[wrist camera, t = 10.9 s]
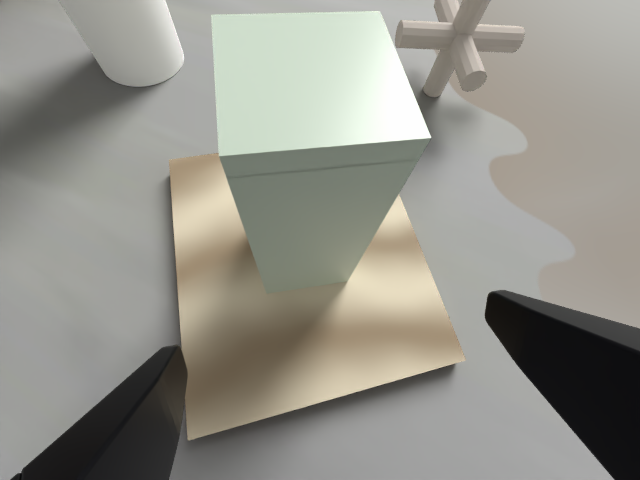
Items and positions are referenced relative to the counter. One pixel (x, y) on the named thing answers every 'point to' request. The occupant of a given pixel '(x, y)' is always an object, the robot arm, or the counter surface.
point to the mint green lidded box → (312, 137)
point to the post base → (292, 314)
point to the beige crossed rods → (458, 42)
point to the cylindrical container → (129, 38)
